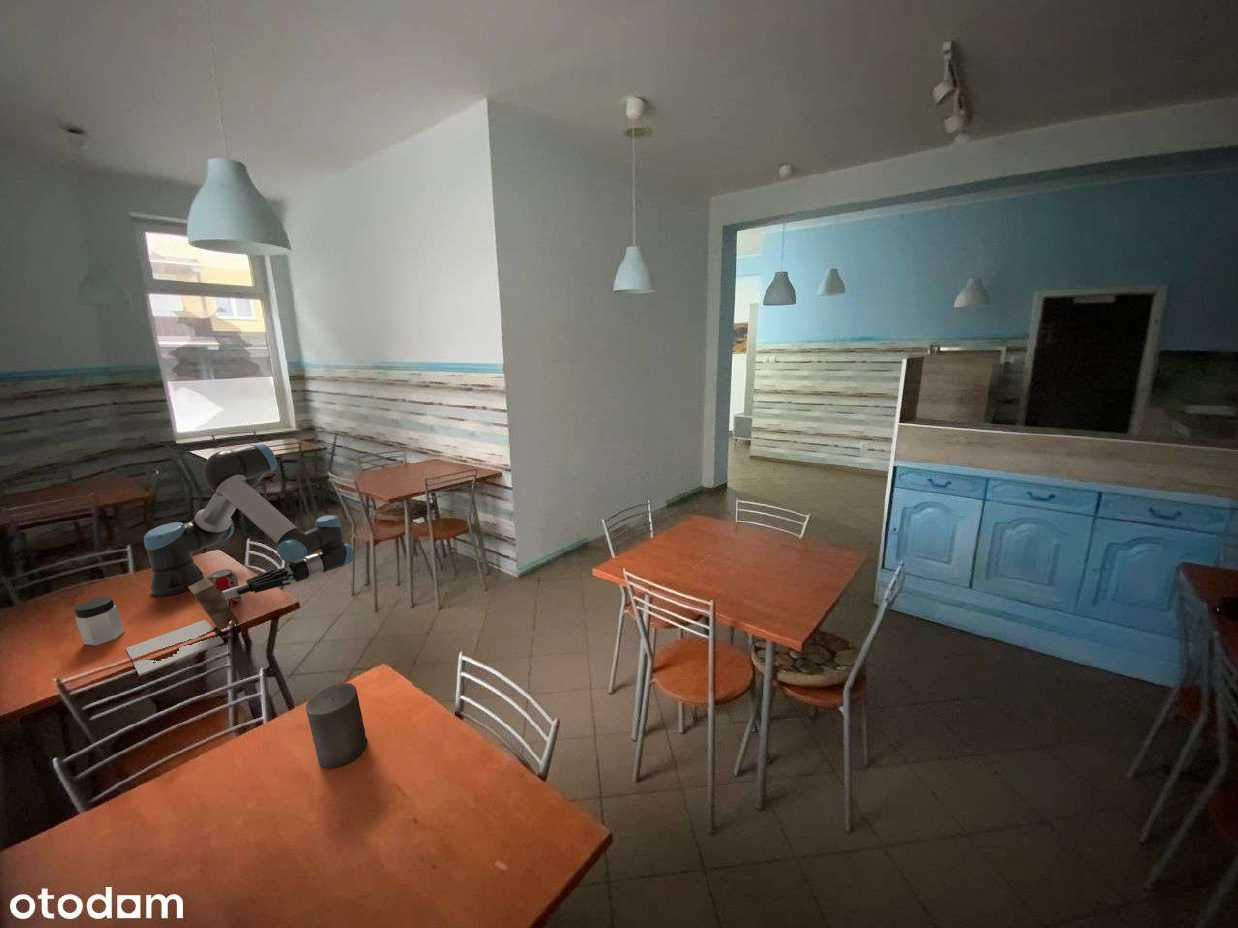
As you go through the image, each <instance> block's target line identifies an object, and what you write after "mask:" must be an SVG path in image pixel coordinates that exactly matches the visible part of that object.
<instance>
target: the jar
mask: <svg viewBox="0 0 1238 928" xmlns="http://www.w3.org/2000/svg"><path fill="white" fill-rule="evenodd" d="M74 613H75V615H76V616H75V617H74V619H75V622H76V625H77V628H78V631H79V634H80V636H81V640H82V642H83V644H84V645H87V646H95V647H96V646H99V645H102V644H104V643H109V642H112V641H114V640H116V639H117V638H118V637H120V636H121V635H122V634H123V633H124V632H125V628H124V625H123V622H122V620H121V615H120V612H119V610H118V607H117V605H116V604H114V600H113V598H112V597H110V596H102V597H96V598H93V599H90V600H86V601H84V602H82V603H80V604H78V605H77V606H75V608H74Z"/></svg>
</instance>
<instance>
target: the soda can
mask: <svg viewBox="0 0 1238 928" xmlns="http://www.w3.org/2000/svg"><path fill="white" fill-rule="evenodd" d="M210 577H211V578H210V579H209V580H210V581H211V582H212V583H213V584H214V586H215V587H216V589H217V590H218V591H219V593H220V594H221V596H222V597H223V594H222V591H224V590H227V589H230V588H233V587H236V586H239V583H238V579H237V576H236V573H235V572H233V570H232V569H222V570H217V571H215V572H213V573H212V574H211V575H210ZM241 596H242V595H239V596H236V597H234V598H231V599H228V600H225V602H226V603H227V605H228V606H229V607H230V608H232V607H235V606H237V605H238V604H239V603H240V602H241V601H242V597H241ZM223 599H224V598H223Z"/></svg>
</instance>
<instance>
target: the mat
mask: <svg viewBox="0 0 1238 928" xmlns="http://www.w3.org/2000/svg"><path fill="white" fill-rule="evenodd" d="M212 630H215V629H214V628H213V626H211V624H210V623H209V622H208V621H207V619H203V620H200V621H198V622H194V623H191V624H189V625H187V626H184V627H181V628H177V629H175V630H172V631H169V632H167V633H165V634H161V635H158V636H155V637H153V638H150V639H147V640H145V641H141V642H140V643H136V644H133V645H130V646H128V647H126V648H125V650H126V652H127V654H128V657H129V659H131V658H135V657H138V656H142V655H144V654H147V653H148V652H152V651H154V650H156V649H162V648H165V647H168V646H172V645H175V644H177V643H180V642H184V641H187V640H189V639H195V638H197V637H199V636H201V635H203V634H206V633H207V632H209V631H212ZM224 643H225V642H224V639H222V638H221V636H220V635H219V636H217V637H214V638H210V639H207V640H204V641H200V642H197V643H194V644H192V645H186V646H182V647H180V648H179V651H177V654H173V656H174V657H168V659H161V660H162V661H156V660H155V661H154V660H141V661H137V662H135V663H133V662H132V664H133V666H134V668H135V670H136V672H137V674H138V676H139V677H141V676H144V675H146V674H149V673H152V672H154V671H156V670H159V669H162V668H165V667H167V666H169V665H172V664H175V663H177V662H180V661H182V660H184V659H187V658H189V657H191V656H195V655H197V654H200V653H202V652H205V651H207V650H209V649H212V648H215V647H218V646H219V645H222V644H224ZM153 662H156V663H153Z"/></svg>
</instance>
